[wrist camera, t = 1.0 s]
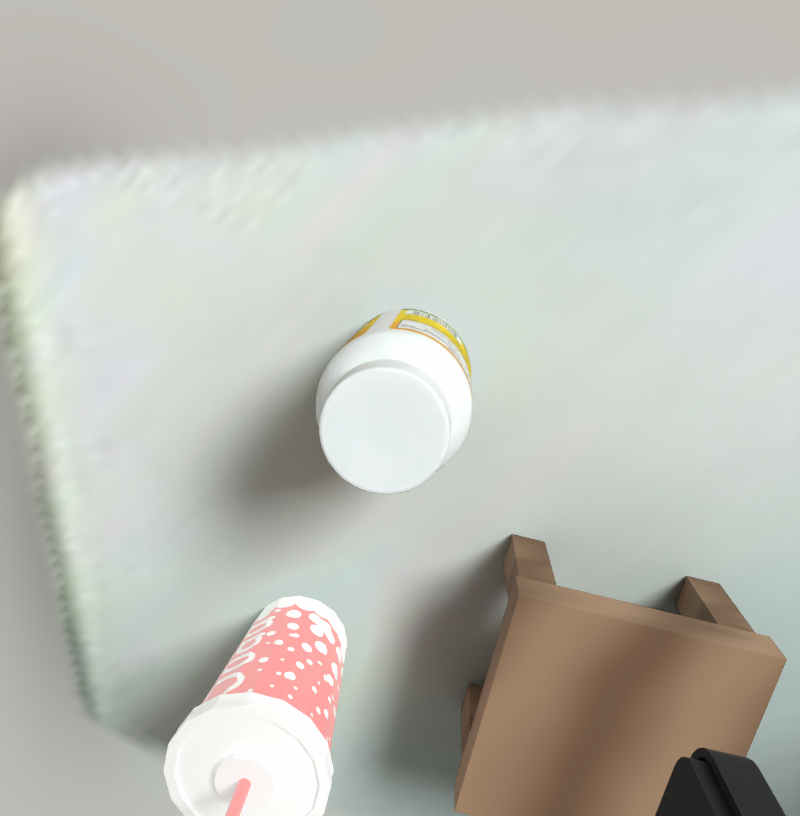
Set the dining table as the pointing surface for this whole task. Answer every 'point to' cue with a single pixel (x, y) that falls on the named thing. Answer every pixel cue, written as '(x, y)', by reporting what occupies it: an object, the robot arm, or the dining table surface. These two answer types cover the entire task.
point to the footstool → (605, 696)
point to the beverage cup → (265, 720)
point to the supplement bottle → (395, 401)
